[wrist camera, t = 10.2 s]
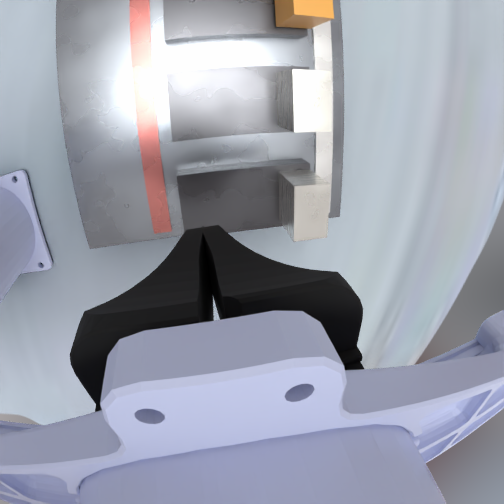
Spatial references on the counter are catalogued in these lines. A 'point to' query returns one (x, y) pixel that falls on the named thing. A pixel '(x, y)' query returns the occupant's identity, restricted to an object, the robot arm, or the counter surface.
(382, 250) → the counter surface
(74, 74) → the panel
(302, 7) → the orange block
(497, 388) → the robot arm
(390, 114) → the counter surface
